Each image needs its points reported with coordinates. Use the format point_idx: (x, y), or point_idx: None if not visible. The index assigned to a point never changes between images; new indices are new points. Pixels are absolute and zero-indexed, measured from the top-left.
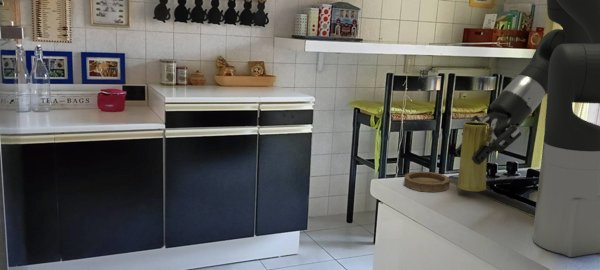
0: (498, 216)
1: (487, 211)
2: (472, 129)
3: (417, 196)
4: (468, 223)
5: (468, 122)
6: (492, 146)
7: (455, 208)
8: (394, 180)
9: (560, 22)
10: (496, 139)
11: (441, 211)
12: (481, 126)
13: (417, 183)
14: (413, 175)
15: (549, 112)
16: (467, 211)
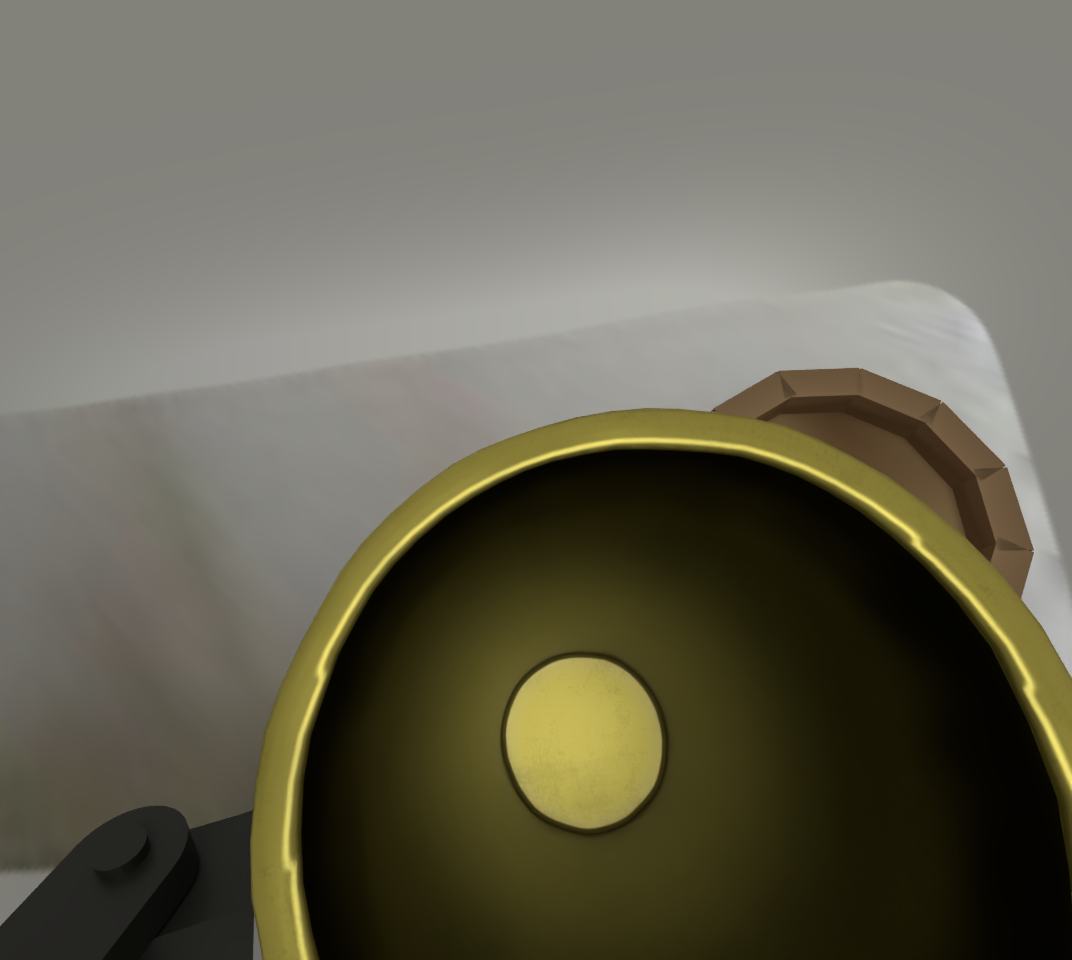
0: (178, 641)
1: (267, 629)
2: (455, 526)
3: (619, 379)
4: (182, 427)
5: (1044, 734)
6: (201, 826)
7: (379, 478)
8: (952, 383)
9: None
10: (93, 953)
11: (369, 388)
12: (276, 700)
13: (733, 399)
14: (962, 478)
15: None
16: (315, 515)
